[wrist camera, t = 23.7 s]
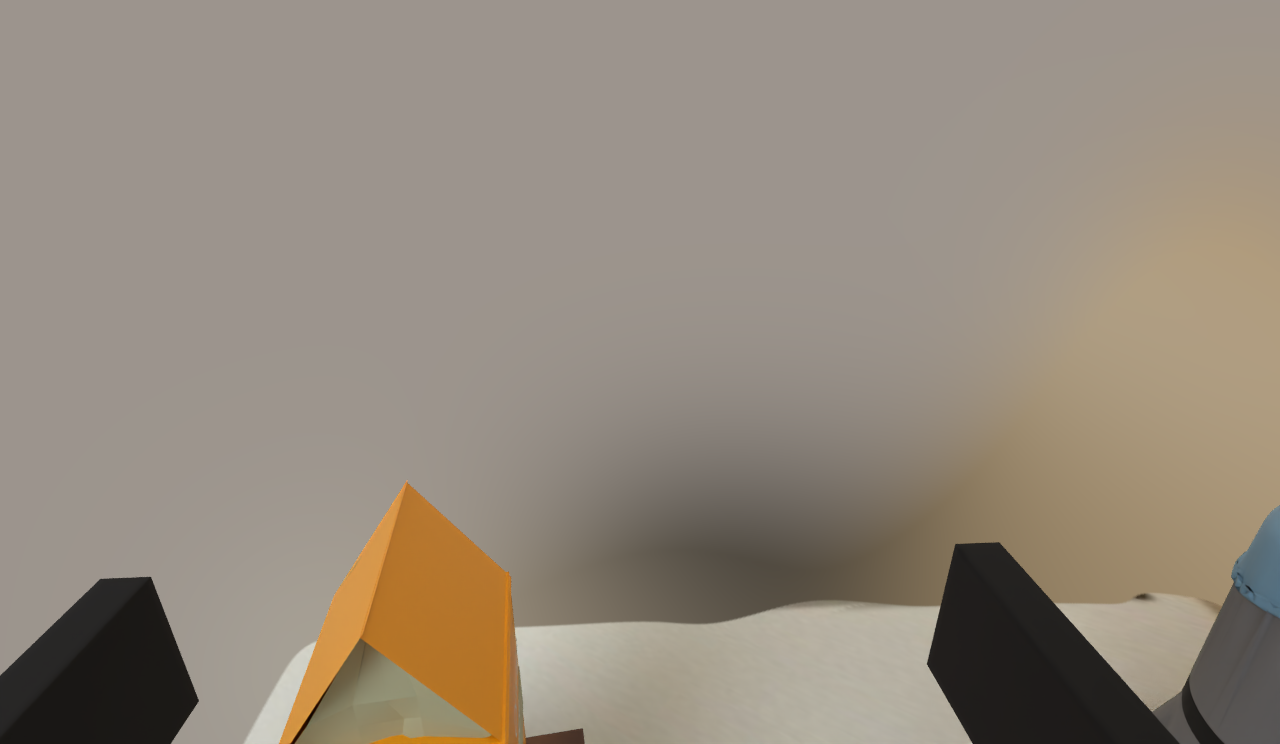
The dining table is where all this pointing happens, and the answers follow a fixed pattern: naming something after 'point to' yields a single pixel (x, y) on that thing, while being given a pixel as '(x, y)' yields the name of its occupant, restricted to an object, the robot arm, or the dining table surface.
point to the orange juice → (414, 643)
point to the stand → (559, 738)
